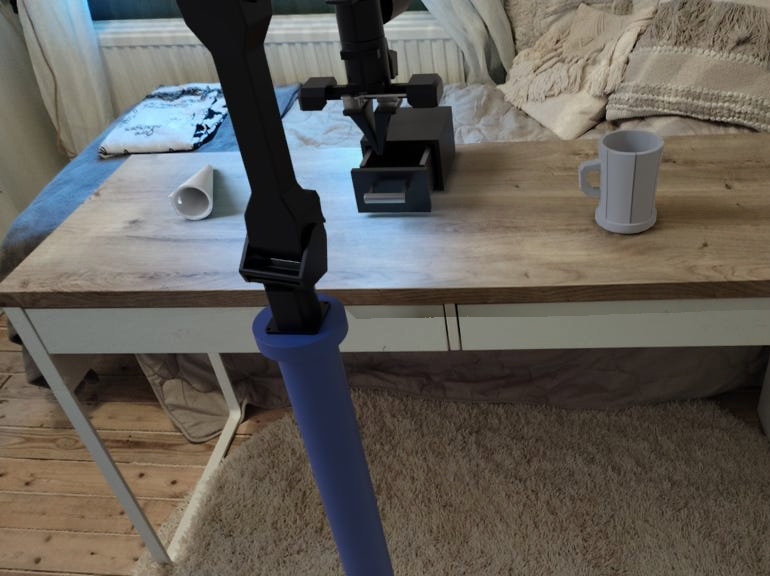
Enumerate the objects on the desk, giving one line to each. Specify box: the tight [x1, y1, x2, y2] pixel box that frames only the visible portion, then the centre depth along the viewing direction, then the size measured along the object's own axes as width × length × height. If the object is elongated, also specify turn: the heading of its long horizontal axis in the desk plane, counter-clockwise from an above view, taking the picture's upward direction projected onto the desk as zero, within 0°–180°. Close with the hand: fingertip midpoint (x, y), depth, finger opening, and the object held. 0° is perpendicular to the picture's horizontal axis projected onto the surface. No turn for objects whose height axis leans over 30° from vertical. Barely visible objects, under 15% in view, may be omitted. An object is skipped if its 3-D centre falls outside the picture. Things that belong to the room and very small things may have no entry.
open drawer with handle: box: [349, 144, 438, 214], centre depth 109 cm, size 18×11×7 cm, turn 174°
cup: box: [577, 128, 665, 235], centre depth 99 cm, size 10×9×12 cm
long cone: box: [168, 164, 214, 221], centre depth 119 cm, size 6×6×19 cm
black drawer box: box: [359, 105, 457, 192], centre depth 118 cm, size 15×13×9 cm
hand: (380, 153), depth 100 cm, fingers closed
